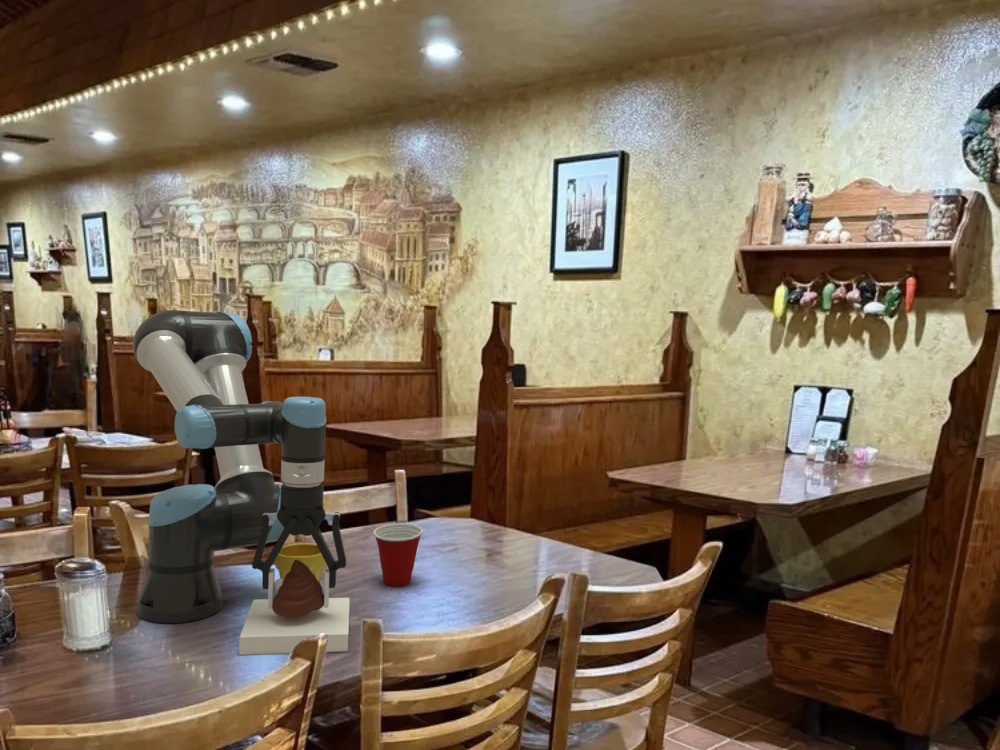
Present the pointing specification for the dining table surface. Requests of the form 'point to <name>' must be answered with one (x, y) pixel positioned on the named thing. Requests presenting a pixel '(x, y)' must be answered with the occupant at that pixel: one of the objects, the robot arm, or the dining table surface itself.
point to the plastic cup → (397, 551)
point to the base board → (293, 628)
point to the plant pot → (300, 558)
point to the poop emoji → (297, 592)
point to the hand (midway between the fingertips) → (298, 605)
